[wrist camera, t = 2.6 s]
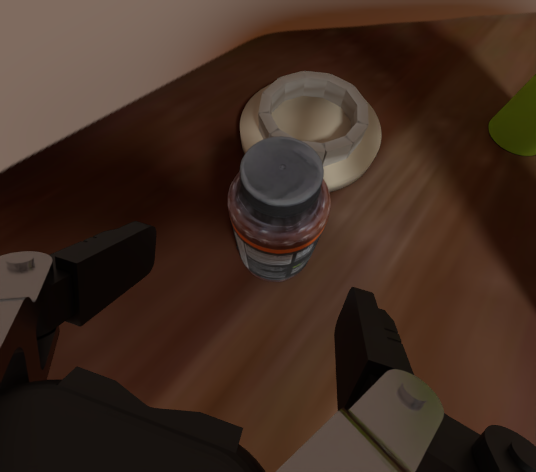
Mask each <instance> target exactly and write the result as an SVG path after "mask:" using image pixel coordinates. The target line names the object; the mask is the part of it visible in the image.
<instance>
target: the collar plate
mask: <svg viewBox="0 0 536 472" xmlns="http://www.w3.org/2000/svg"><path fill="white" fill-rule="evenodd" d="M240 136H241V144H242V149H243V152H244V154H245V153H246V152H247V151H248V149H249V148H250V147H252V146H253V145H254V144H256V143H257V142H259V141H261V140H263V139H266V138H270V137H275V136H276V137H279V136H283V137H291V138H295V139H297V140H300V141H302V142H305V143H306V144H308V145H309V146H310V147H312V148H313V149H314V150H315V151H316V153H317V154H318V155H319V157H320V159H321V161H322V164H323V169H324V177H323V179H324V181H325V182H326V184H327V186H328V189H329V192H332V191H335V190H339V189H342V188H344V187H346V186H348V185H350V184H352V183H353V182H355V181H356V180H358V179H359V178H360V177H361V176H362V175H363V174H364V173H365V172H366V171H367V169H368V168H369V166H370V165H371V163H372V161H373V160H374V158H375V156H376V154H377V152H378V150H379V147H380V143H381V126H380V123H379V120H378V117H377V115H376V113H375V112H374V110H373V109H372V107H371V106H370V105H369V104H368V102H367V101H366V100H365V99H364V98H363V97H362V95H361V94H360V93H359V91H358V90H357V89H356V88H355V86H353V85H352V84H350V83H348V82H346V81H344V80H342V79H340V78H338V77H336V76H334V75H332V74H331V75H330V76H329V73H320V72H310V71H304V72H303V71H301V72H297V73H294V74H290V75H286V76H283V77H280V79H279V78H278V79H277V80H276V81H275V82H273V83H272V84H270V85H268V86H266V87H264V88H263V89H261V90H260V91H258V92H257V93H256V94H255V95H254V96H253V97H252V98H251V99H250V100H249V101H248V103H247V104H246V106H245V108H244V110H243V112H242V115H241V120H240Z"/></svg>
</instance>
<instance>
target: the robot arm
mask: <svg viewBox="0 0 536 472" xmlns="http://www.w3.org/2000/svg"><path fill="white" fill-rule="evenodd" d="M155 245H156V229H155V227H154V226H151V225H147V224H144V223H141V222H137V221H134V222H131V223H129V224H127V225H125V226H122V227H120V228H118V229H114V230H109V231H104V232H102V233H100V234H97V235H95V236H93V238H92V237H90V238H88V239H86V240H84V241H83V242H79V243H76V244H74V245H72V246H69V247H67V248H64V249H62V250H60V251H57V252H55V253H53V254H50V255H47V254H45V253H41V252H34V251H24V252H15V253H10V254H6V255H2V256H0V472H265V470H264V469H263V468H262V466H261V465H260V464H259V463H258V461H257V460H256V459H255V458H254V457H253V456H252V455H251V454H250V453H249V452H248V451H247V450H246V449H244V448H243V447H242V446H241V445H239V441H240V437H241V433H242V430H243V428H241V427H239V426H236V425H233V424H231V423H228V422H225V421H222V420H220V419H217V418H214V417H212V416H209V415H206V414H204V413H201V412H192V411H181V410H169V409H158V408H151V407H149V406H147V405H145V404H144V403H143V402H142V401H140V400H139V399H138V398H137V397H135V396H134V395H133V394H132V393H130V392H129V391H128V390H127V389H125V388H124V387H123V386H122V385H120V384H119V383H118V382H117V381H115V380H112V379H109V378H107V377H104V376H101V375H99V374H96V373H93V372H91V371H88V370H85V369H82V368H80V367H76V368H75V369H74V370H73V371H71V372H70V373H69V374H68V375H67V376H66V377H65V378H64V379H63V380H47V377H48V373H49V370H50V366H51V362H52V359H53V355H54V351H55V348H56V344H57V340H58V337H59V332H60V330H59V325H60V324H62V323H63V322H64V321H66V322H69V323H72V324H75V325H78V326H80V327H81V326H82V325H83V324H85V323H86V322H87V321H89V320H90V319H91V318H92V317H94V316H95V315H96V314H98V313H99V312H100V311H102V310H103V309H104V308H105V307H107V306H108V305H109V304H111V303H112V302H113V301H114V300H116V299H117V298H118V297H120V296H121V295H122V294H123V293H125V292H126V291H127V290H129V289H130V288H131V287H133V286H134V285H135V284H136V283H138V282H139V281H140V280H142V279H143V278H144V277H145V276H147V275H148V274H149V273H150V271H151V269H152V267H153V265H154V260H155ZM334 338H335V359H336V380H337V401H338V412H337V413H336V414H335V415H334V416H333V417H332V418H331V419H330V420H329V421H327V422H326V423H325V424H324V425H323V426H322V427H321V428H320V429H319V430H318V431H317V432H316V433H315V434H314V435H313V436H312V437H311V438H310V439H309V440H308V441H307V442H306V443H305V444H304V445H303V446H302V447H301V448H300V449H299V450H298V451H297V452H296V453H295V454H294V455H293V456H292V457H290V458H289V459H288V460H287V461H286V462H285V463H284V464H283V465H282V466H281V467H280V468H279V469H278V470H277V471H276V472H536V446H534V445H533V444H532V443H531V442H529V441H528V440H527V439H525V438H524V437H522V436H521V435H519V434H518V433H516V432H514V431H512V430H510V429H508V428H505V427H502V426H498V425H491V426H488V427H487V428H486V429H485V431H484V432H483V433H482V434H481V435H480V434H478V433H476V432H475V431H473V430H471V429H469V428H468V427H466V426H464V425H463V424H461V423H459V422H458V421H456V420H454V419H453V418H451V417H449V416H448V415H446V414H445V413H444V410H443V406H442V404H441V402H440V400H439V398H438V397H437V395H436V394H435V393H434V392H433V390H432V389H431V388H430V387H429V386H428V385H427V384H425V383H424V382H423V381H422V380H420V379H419V378H418V377H416V376H414V374H413V371H412V368H411V366H410V363H409V360H408V358H407V355H406V352H405V350H404V347H403V344H401V339H400V336H399V334H398V331H397V328H396V326H395V323H394V321H393V320H392V318H391V317H390V316H389V315H388V314H387V313H386V311H385V310H382V309H379V308H378V306H377V303H376V300H375V297H374V294H373V293H372V292H368V291H365V290H362V289H358V288H355V287H352V288H351V289H350V291H349V293H348V295H347V298H346V300H345V303H344V305H343V308H342V310H341V312H340V315H339V317H338V320H337V323H336V327H335V334H334Z"/></svg>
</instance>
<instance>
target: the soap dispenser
mask: <svg viewBox="0 0 536 472" xmlns="http://www.w3.org/2000/svg"><path fill="white" fill-rule="evenodd" d="M488 129H489V133H490V135H491V137H492V138H493V140H494V141H495V142H496V143H497V144H498V145H499V146H500V147H502V148H503V149H505V150H507V151H509V152H511V153H514V154H517V155H522V156H533V155H536V74H535V75H534V76H533V77H532V78H531V79H530V80H529V81H528V82H527V83H526V84H525V85H524V86H523V87H522V89H521V90H520V91H519V92H518V93H517V94H516V95H515V96H514V97H513V98H512V99H511V100H510V101H509V102H508V103H507V104H506V105H505V106H504V107H503V108H502V109H501V110H500V111H499V112H498V113H497V114H496V115H495V116H494V117H493V118H492V119H491V120H490V122H489V125H488Z"/></svg>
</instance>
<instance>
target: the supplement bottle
mask: <svg viewBox="0 0 536 472" xmlns="http://www.w3.org/2000/svg"><path fill="white" fill-rule="evenodd" d="M323 177H324V169H323V164H322V161H321V159H320V157H319V155H318V154H317V153H316V151H315V150H314V149H313V148H312V147H310V146H309V145H308V144H306V143H305V142H302V141H300V140H297V139H295V138H291V137H283V136H279V137H276V136H275V137H270V138H266V139H263V140H261V141H259V142H257V143H256V144H254V145H253V146H252V147H250V148H249V149H248V151H247V152H246V153H245V155H244V157H243V159H242V161H241V165H240V171H239V173H238V174H237V175H236V177H235V178H234V180H233V181H232V183H231V186H230V188H229V192H228V199H227V205H228V211H229V216H230V219H231V224H232V227H233V231H234V235H235V239H236V243H237V248H238V250H239V254H240V256H241V258H242V261H243V263H244V265H245V266H246V268H247V269H248V270H249V271H250V272H251V273H252V274H253V275H254V276H256V277H258V278H260V279H262V280H266V281H271V282H280V281H285V280H288V279H290V278H292V277H294V276H296V275H297V274H298V273H299V272H300V271H301V270H302V269H303V268H304V267H305V266H306V264H307V262H308V260H309V258H310V256H311V254H312V252H313V250H314V248H315V246H316V244H317V242H318V240H319V238H320V236H321V234H322V231H323V230H324V227H325V225H326V223H327V220H328V217H329V213H330V208H331V199H330V193H329V189H328V186H327V184H326V182H325V181H324V179H323Z"/></svg>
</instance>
